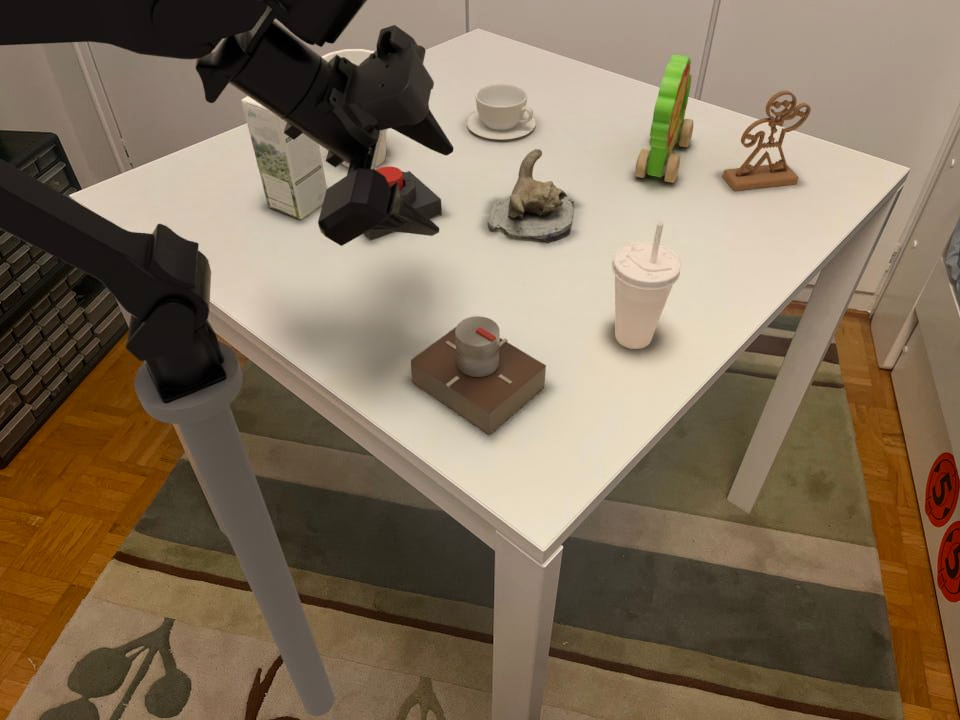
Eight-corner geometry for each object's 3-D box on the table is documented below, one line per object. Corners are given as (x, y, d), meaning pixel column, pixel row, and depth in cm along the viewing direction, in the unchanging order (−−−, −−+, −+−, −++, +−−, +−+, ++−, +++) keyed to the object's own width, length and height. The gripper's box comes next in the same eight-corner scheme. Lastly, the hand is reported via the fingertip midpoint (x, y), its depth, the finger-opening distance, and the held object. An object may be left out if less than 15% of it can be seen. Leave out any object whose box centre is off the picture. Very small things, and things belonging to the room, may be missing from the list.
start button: (382, 197, 89) (380, 184, 88) (368, 184, 91) (367, 171, 90) (408, 188, 90) (407, 176, 89) (394, 175, 93) (393, 163, 91)
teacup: (454, 131, 108) (452, 100, 105) (489, 104, 114) (489, 74, 111) (513, 149, 104) (514, 117, 101) (547, 120, 110) (549, 89, 107)
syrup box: (331, 199, 95) (312, 90, 85) (299, 222, 92) (276, 110, 82) (297, 187, 98) (275, 78, 87) (265, 208, 94) (238, 98, 84)
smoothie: (649, 366, 74) (674, 251, 64) (591, 343, 76) (606, 228, 66) (674, 329, 77) (701, 215, 68) (617, 308, 80) (635, 195, 70)
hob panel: (411, 382, 72) (409, 359, 70) (468, 339, 77) (468, 316, 74) (488, 435, 68) (488, 412, 65) (545, 386, 72) (547, 363, 70)
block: (369, 240, 89) (366, 211, 86) (341, 209, 94) (336, 181, 91) (441, 214, 93) (440, 186, 90) (410, 185, 98) (408, 158, 95)
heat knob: (447, 363, 70) (445, 329, 67) (476, 341, 72) (475, 307, 69) (479, 384, 68) (478, 349, 65) (507, 361, 70) (508, 327, 67)
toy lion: (654, 134, 107) (672, 25, 96) (692, 140, 106) (715, 31, 95) (627, 189, 97) (644, 74, 86) (669, 198, 95) (692, 81, 84)
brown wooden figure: (733, 191, 96) (757, 102, 88) (721, 175, 99) (743, 87, 90) (797, 183, 97) (827, 95, 89) (783, 168, 100) (811, 81, 92)
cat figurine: (483, 241, 90) (484, 203, 86) (499, 180, 97) (501, 142, 92) (566, 253, 89) (572, 215, 84) (577, 190, 96) (582, 152, 91)
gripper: (334, 131, 49) (496, 246, 58) (384, -53, 57) (519, 73, 67) (249, 196, 56) (405, 288, 66) (303, 24, 65) (435, 128, 74)
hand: (443, 191), depth 68 cm, fingers open, 9 cm apart
